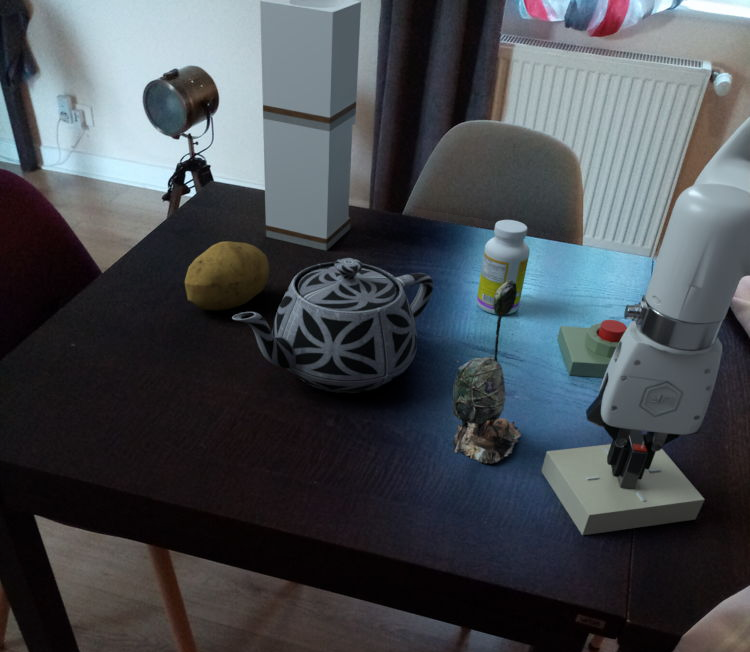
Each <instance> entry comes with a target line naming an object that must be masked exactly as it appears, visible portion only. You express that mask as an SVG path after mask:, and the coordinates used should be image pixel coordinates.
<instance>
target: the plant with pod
mask: <svg viewBox="0 0 750 652" xmlns="http://www.w3.org/2000/svg"><path fill="white" fill-rule="evenodd" d="M516 295H517V290H516V283H515V282H513V281H510V280H508V282H506V283H504V284H503V285H502V286H501V287H500V288H499V289H498V290H497V291H496V294H495V297H494V301H493V306H494V310H495V314H494V315H497V321H496V330H495V335H496V336H495V341H494V342H495V343H494V356H492V355H491V356H486V357H476V358H473V359H470V360H469V361H466V363H464V364H462V365H460V366H459V367H458V369H457V371H456V377H455V381H454V384H453V389H452V409H453V415H454V416H455V417H456V418H457V420H461V424H458V426H457V428H456V432H455V434H454V438H453V441H452V442H451V443H452V444H453V446H454V448H455V449H454V453H455V454H458V453H459V452H461V453H462V454H464V455H465V457H469V456H470V459H473V460H476V461H477V462H478V463H479V462H480V463H481V464H482V463H483V464H494V463H495V464H496V463H499V461H500V460H503V459H504V458H505V457H508V456H509V454H512V453H513V448H514V447H515V444H516V443H519V440H518V439H519V438H520V437H522V434H521V431H520V430H518V429H519V427H518V426H515V421H512V422H510V421H508V419H507V418H501V416H502V413H503V411H504V406H505V401H506V396H507V395H506V387H505V386H506V385H505V378H504V372H503V367H502V366H501V363H500V362H499V361H498V352H499V337H500V331H501V330H500V328H501V322H502V317H503V316H508V315H509V314H508V313H509V312H510V311H511V309H512V308H513V306H514V302H515V300H516ZM456 363H457V364H459V363H460V361H459V360H456Z"/></svg>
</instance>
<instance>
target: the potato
mask: <svg viewBox="0 0 750 652" xmlns="http://www.w3.org/2000/svg"><path fill="white" fill-rule="evenodd" d="M269 274H270V266H269V260H268V257H267V255H266V253H264V252H263V251H262V250H261V249H260V248H258V247H257V246H255V245H253V244H250V243H247V242H237V241H228V240H227V241H220V242H217V243H215V244H213V245H211V246H210V247H208V248H207V249H206V250H205V251H203V252H202V253H201V254H200V255H198V256H196V258H195V259H194V260H193V261H192V263H190V265H188V268H187V271H186V275H185V279H184V288H185V293H186V298H187V301H189V302H190V303H191V304H193V305H194V306H196V307H197V308H198V309H200V310H204V311H216V312H217V311H226V310H231V309H236V308H238V307H241V306H243V305H246V304H247V303H249V302H250V301H251V300H252V299H253V298H255V297H256V296H257V295H259V294H260V293H261V292H262V291H264V289H265V287H266V284H267V282H268V279H269Z"/></svg>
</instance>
